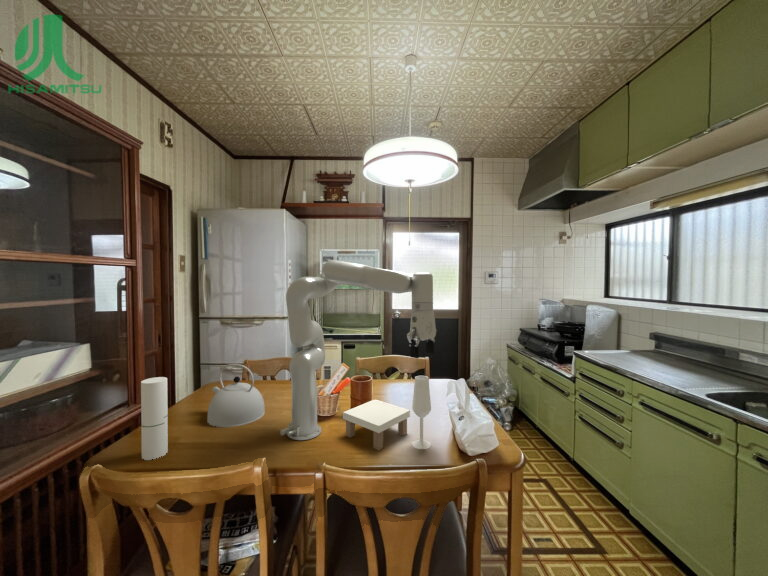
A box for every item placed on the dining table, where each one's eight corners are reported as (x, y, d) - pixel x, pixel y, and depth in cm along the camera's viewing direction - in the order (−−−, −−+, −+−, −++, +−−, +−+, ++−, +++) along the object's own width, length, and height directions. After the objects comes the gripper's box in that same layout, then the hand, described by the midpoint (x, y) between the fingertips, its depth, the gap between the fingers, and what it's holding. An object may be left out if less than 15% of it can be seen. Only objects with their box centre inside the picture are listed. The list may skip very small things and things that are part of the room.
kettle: (189, 422, 133) (189, 368, 133) (231, 403, 155) (230, 356, 154) (239, 430, 126) (239, 373, 125) (275, 409, 147) (275, 360, 147)
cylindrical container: (172, 448, 112) (172, 376, 111) (158, 460, 104) (158, 383, 104) (151, 449, 111) (150, 377, 111) (136, 460, 104) (135, 383, 104)
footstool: (378, 452, 110) (378, 425, 109) (343, 435, 121) (343, 412, 121) (409, 433, 123) (409, 410, 123) (375, 420, 135) (375, 399, 135)
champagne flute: (418, 438, 120) (419, 373, 119) (434, 443, 115) (434, 377, 115) (408, 444, 115) (408, 377, 114) (424, 451, 110) (424, 381, 110)
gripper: (417, 309, 105) (417, 361, 106) (443, 306, 119) (444, 352, 119) (399, 308, 110) (399, 358, 110) (426, 305, 123) (427, 350, 124)
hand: (422, 355), depth 115 cm, fingers open, 9 cm apart
